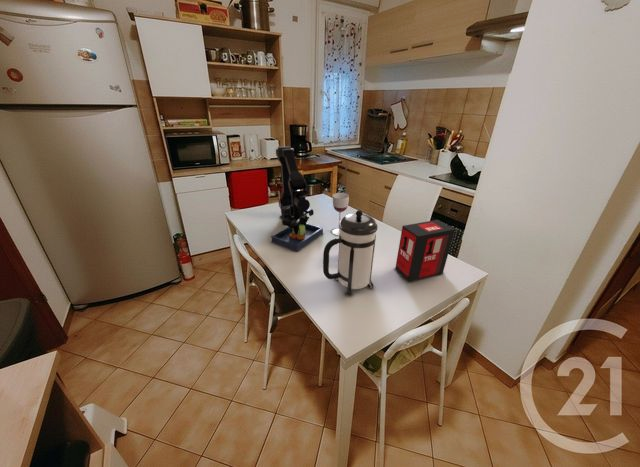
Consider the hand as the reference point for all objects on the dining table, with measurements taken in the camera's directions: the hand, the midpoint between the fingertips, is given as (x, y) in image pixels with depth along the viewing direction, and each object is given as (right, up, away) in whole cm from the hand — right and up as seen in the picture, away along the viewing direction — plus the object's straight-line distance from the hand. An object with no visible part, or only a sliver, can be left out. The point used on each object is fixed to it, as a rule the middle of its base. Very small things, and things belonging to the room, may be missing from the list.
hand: (299, 232), depth 133 cm
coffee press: (+22, -20, -34) cm, 45 cm away
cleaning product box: (+51, -16, -26) cm, 59 cm away
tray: (0, -3, -2) cm, 3 cm away
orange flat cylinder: (-2, -2, -3) cm, 4 cm away
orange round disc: (+1, -3, -4) cm, 6 cm away
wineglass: (+21, 0, +4) cm, 21 cm away
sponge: (0, -1, 0) cm, 1 cm away
